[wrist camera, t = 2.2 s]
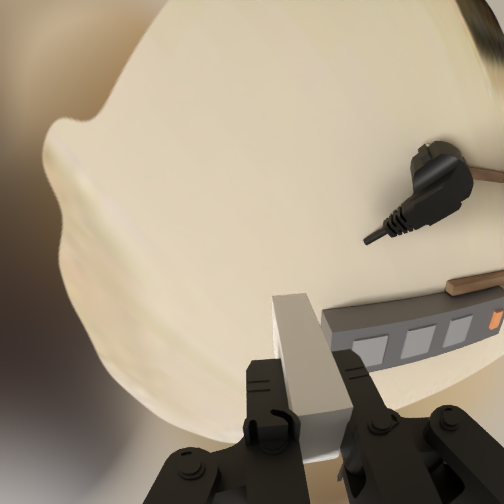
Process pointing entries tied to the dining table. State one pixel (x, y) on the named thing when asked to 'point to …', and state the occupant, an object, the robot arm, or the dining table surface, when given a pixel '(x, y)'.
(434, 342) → the power strip
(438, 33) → the dining table surface
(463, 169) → the power plug
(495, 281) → the bay
